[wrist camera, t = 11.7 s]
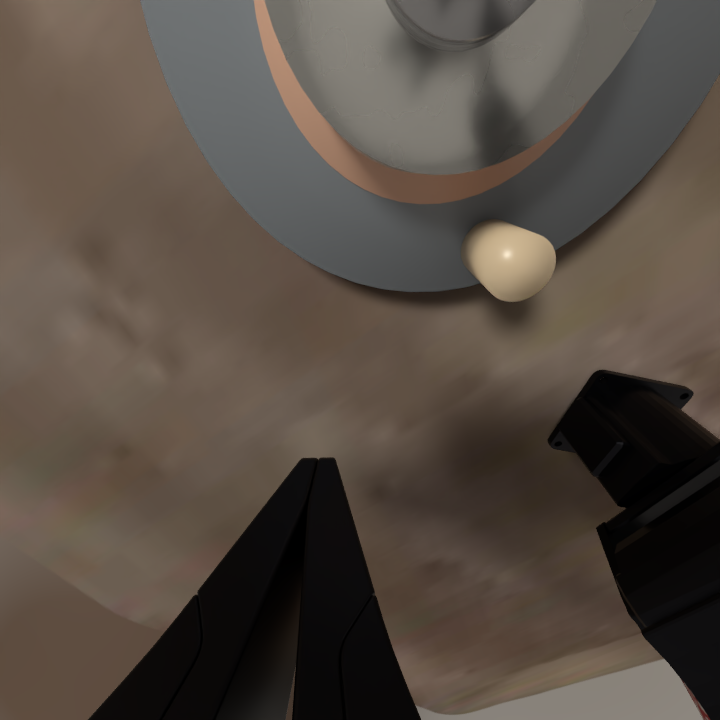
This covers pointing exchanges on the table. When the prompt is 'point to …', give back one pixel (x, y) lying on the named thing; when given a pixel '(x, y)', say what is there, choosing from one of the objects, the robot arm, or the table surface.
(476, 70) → the cover
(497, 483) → the table surface
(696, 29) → the turntable
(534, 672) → the table surface
